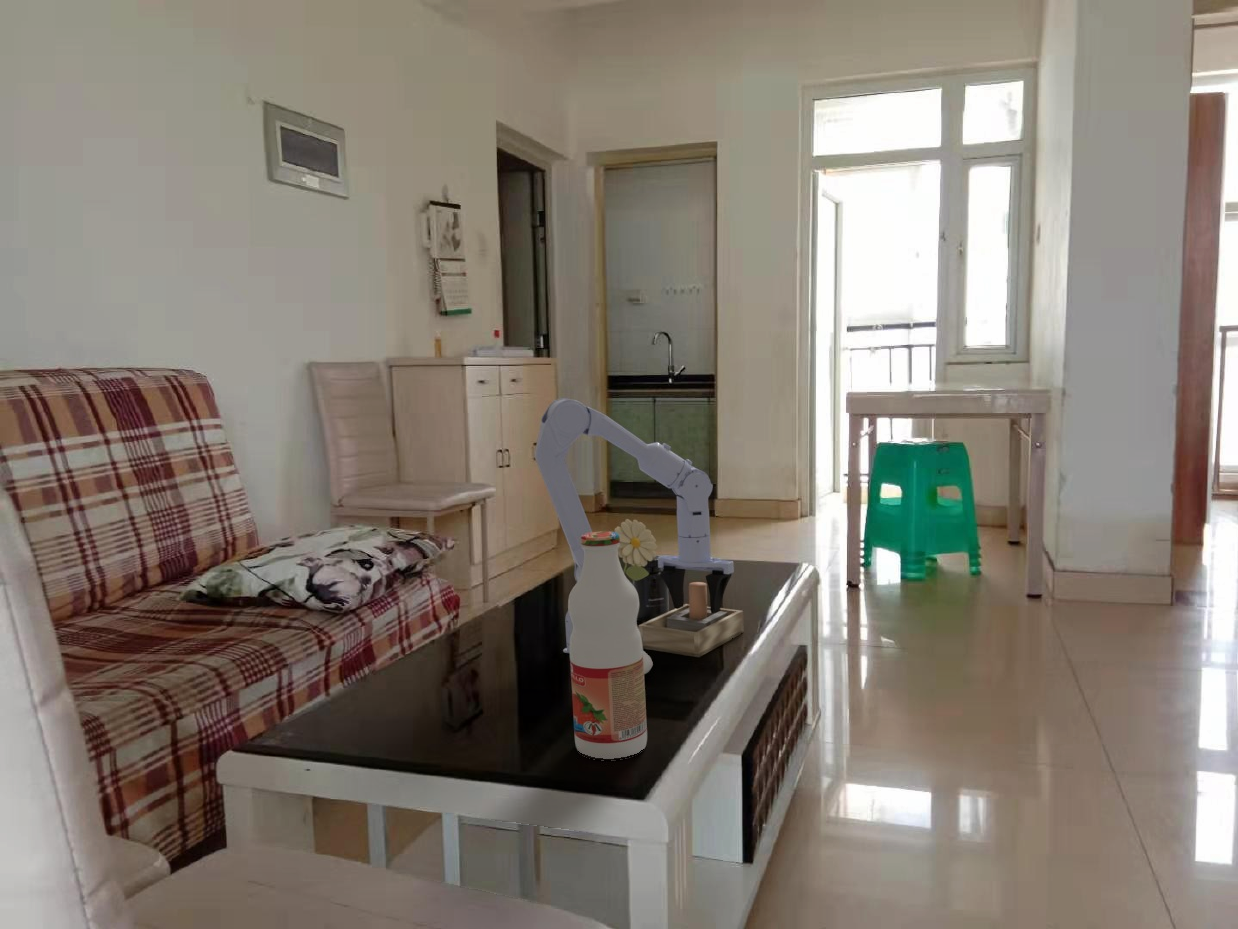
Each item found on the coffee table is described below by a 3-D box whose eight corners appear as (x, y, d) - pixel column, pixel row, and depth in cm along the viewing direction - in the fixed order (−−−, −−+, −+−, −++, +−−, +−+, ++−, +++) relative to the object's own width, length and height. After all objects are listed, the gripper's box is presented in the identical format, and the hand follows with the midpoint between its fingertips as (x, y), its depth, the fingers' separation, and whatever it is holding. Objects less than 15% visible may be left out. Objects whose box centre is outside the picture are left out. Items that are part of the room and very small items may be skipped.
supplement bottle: (656, 624, 176) (653, 562, 175) (627, 620, 180) (624, 559, 179) (676, 616, 182) (673, 555, 180) (648, 612, 186) (645, 552, 184)
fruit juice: (651, 759, 116) (640, 538, 113) (575, 765, 116) (562, 543, 113) (644, 730, 125) (634, 525, 123) (574, 735, 125) (562, 530, 122)
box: (699, 657, 155) (698, 634, 155) (639, 647, 162) (638, 625, 162) (743, 632, 168) (742, 610, 168) (686, 624, 175) (685, 603, 175)
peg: (702, 637, 165) (701, 587, 164) (686, 634, 167) (685, 585, 165) (710, 632, 167) (710, 583, 166) (695, 629, 169) (694, 581, 168)
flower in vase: (591, 692, 141) (582, 530, 139) (575, 669, 152) (566, 519, 150) (672, 680, 145) (665, 522, 142) (651, 659, 156) (643, 511, 153)
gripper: (740, 533, 164) (743, 608, 165) (671, 528, 172) (674, 600, 174) (721, 540, 158) (724, 618, 160) (650, 535, 167) (653, 609, 168)
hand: (697, 609), depth 166 cm, fingers open, 7 cm apart
